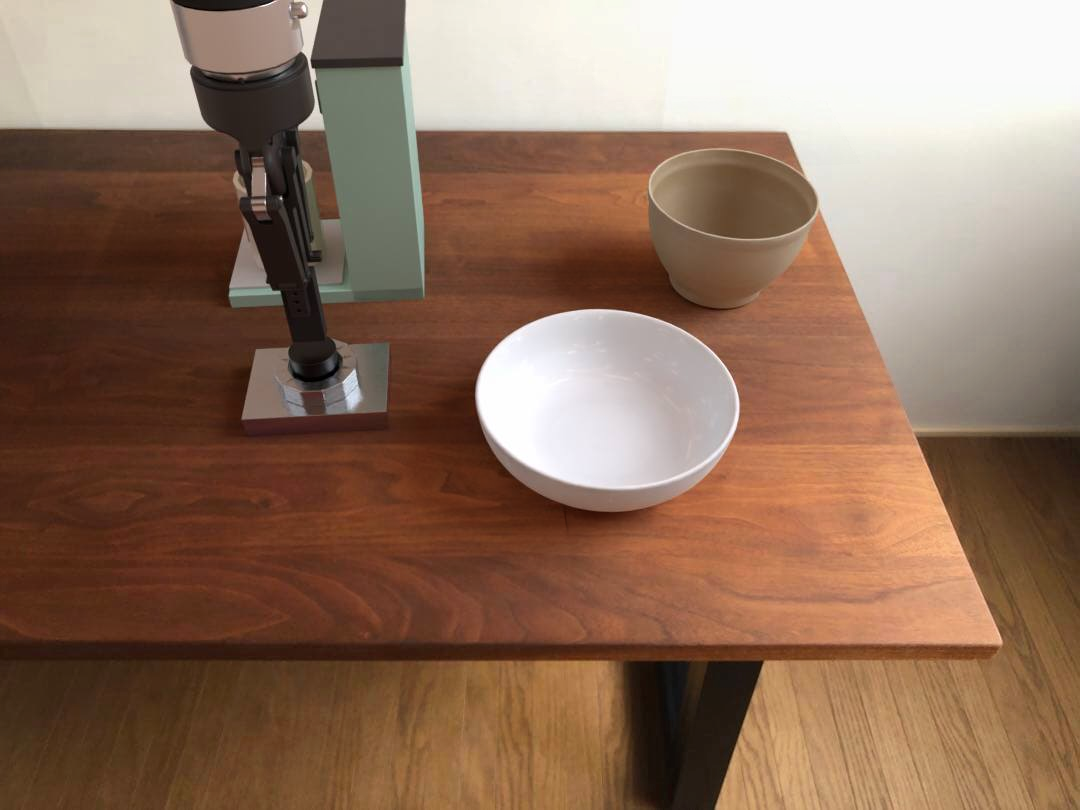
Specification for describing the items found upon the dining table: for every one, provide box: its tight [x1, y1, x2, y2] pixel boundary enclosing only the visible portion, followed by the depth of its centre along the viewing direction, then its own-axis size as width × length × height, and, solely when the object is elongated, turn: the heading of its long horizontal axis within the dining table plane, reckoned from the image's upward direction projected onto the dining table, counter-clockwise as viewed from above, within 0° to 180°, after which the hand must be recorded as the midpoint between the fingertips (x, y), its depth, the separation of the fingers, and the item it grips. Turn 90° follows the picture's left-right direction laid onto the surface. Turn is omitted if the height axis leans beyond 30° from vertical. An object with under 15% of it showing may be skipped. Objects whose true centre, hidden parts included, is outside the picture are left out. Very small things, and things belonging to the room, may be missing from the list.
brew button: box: [288, 335, 339, 382], centre depth 76 cm, size 4×4×2 cm
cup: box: [232, 159, 326, 270], centre depth 89 cm, size 7×7×9 cm
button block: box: [240, 337, 393, 438], centre depth 78 cm, size 12×9×4 cm
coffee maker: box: [227, 0, 425, 309], centre depth 85 cm, size 19×13×25 cm
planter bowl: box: [647, 147, 820, 309], centre depth 88 cm, size 16×16×11 cm
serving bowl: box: [474, 308, 740, 513], centre depth 73 cm, size 21×21×7 cm
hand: (309, 335), depth 74 cm, fingers closed
